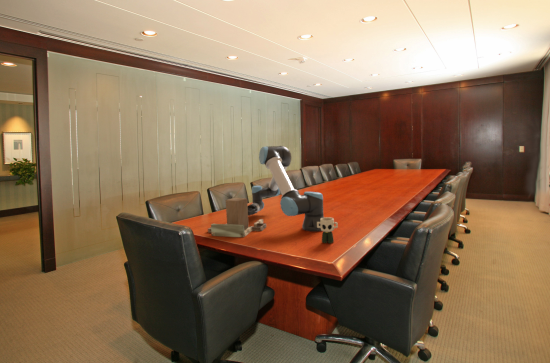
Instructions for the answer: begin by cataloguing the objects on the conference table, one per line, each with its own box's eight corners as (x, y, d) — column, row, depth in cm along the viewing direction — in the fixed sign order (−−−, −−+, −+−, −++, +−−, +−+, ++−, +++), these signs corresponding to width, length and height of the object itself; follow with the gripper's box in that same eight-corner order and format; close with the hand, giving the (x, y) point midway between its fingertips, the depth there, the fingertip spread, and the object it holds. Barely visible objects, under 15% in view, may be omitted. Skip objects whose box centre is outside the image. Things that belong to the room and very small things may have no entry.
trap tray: (228, 221, 222) (227, 211, 221) (271, 222, 212) (271, 212, 211) (202, 235, 189) (201, 224, 188) (253, 237, 178) (252, 226, 178)
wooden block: (237, 226, 205) (235, 197, 203) (249, 228, 199) (247, 198, 197) (227, 230, 197) (225, 199, 194) (238, 232, 191) (236, 200, 189)
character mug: (316, 244, 161) (316, 220, 160) (318, 240, 168) (317, 217, 167) (337, 244, 159) (337, 220, 157) (338, 240, 166) (337, 217, 164)
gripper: (261, 214, 224) (249, 222, 202) (245, 213, 228) (231, 221, 206) (260, 204, 223) (248, 210, 201) (244, 203, 227) (230, 210, 205)
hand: (239, 216), depth 203 cm, fingers closed
